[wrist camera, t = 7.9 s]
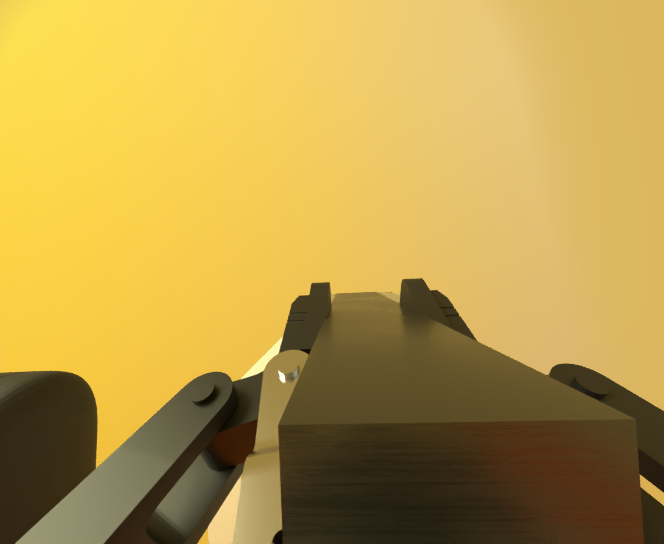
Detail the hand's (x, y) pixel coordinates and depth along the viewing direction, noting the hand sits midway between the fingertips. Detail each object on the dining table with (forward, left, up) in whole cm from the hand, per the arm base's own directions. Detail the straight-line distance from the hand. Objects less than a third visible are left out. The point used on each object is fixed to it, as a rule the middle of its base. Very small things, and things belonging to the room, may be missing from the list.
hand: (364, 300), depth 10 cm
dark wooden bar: (+3, +5, -3) cm, 7 cm away
